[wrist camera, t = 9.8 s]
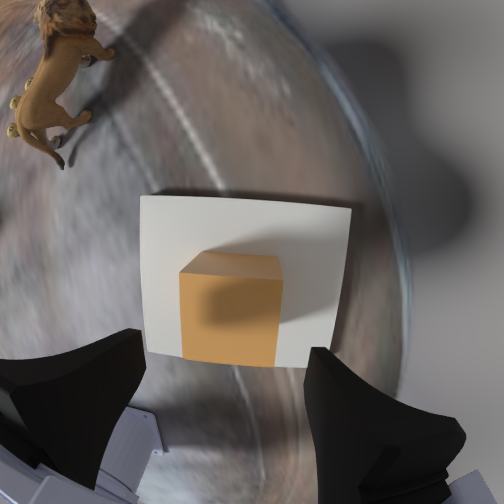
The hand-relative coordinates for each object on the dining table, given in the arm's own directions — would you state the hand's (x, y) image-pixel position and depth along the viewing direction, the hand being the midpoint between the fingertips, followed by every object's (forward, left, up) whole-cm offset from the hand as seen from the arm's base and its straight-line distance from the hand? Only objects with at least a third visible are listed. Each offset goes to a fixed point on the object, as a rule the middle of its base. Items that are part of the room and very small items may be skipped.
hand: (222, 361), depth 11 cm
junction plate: (0, 0, -9) cm, 9 cm away
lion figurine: (-15, +16, -10) cm, 24 cm away
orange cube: (0, 0, -8) cm, 8 cm away
